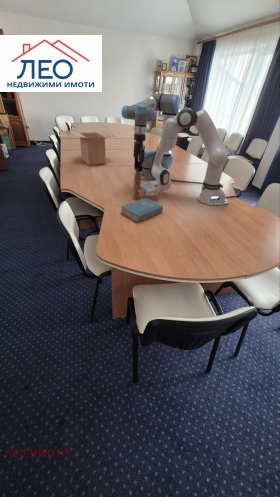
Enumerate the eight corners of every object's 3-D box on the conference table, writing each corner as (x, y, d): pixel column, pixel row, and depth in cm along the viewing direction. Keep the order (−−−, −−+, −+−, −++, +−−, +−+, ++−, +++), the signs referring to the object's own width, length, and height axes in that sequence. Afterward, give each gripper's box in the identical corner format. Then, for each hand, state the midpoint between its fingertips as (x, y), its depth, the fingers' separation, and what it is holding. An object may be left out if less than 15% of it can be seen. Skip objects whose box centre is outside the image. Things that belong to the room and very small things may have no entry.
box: (116, 165, 229) (116, 136, 213) (83, 168, 214) (80, 137, 198) (102, 154, 259) (101, 128, 243) (71, 156, 244) (68, 129, 228)
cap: (136, 169, 157) (136, 166, 156) (141, 170, 156) (141, 167, 155) (134, 170, 153) (134, 168, 152) (139, 171, 152) (140, 169, 152)
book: (145, 204, 158) (145, 197, 155) (162, 212, 149) (163, 206, 146) (121, 213, 145) (121, 206, 142) (138, 223, 136) (138, 216, 133)
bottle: (134, 199, 164) (136, 170, 151) (132, 196, 168) (133, 168, 155) (140, 198, 166) (142, 169, 153) (138, 196, 169) (139, 167, 156)
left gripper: (129, 130, 147) (128, 166, 160) (140, 136, 132) (138, 174, 146) (139, 130, 149) (137, 165, 163) (151, 136, 135) (148, 174, 149)
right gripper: (145, 178, 173) (129, 180, 168) (159, 187, 159) (142, 190, 154) (144, 186, 177) (129, 188, 171) (158, 196, 163) (142, 198, 157)
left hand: (138, 170), depth 154 cm, fingers open, 6 cm apart
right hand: (135, 189), depth 162 cm, fingers closed on bottle, 5 cm apart
